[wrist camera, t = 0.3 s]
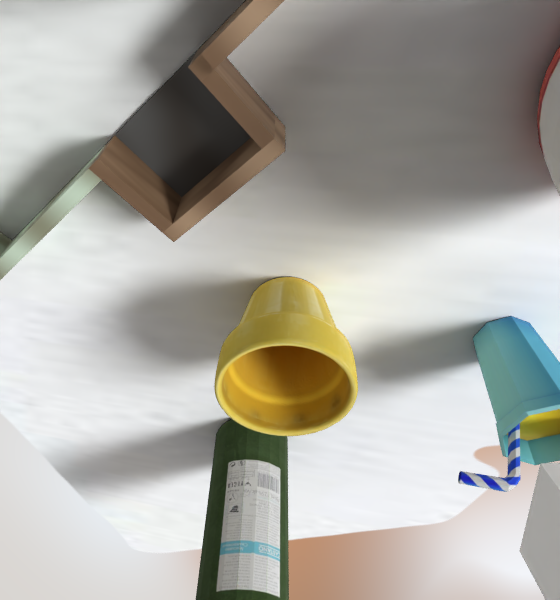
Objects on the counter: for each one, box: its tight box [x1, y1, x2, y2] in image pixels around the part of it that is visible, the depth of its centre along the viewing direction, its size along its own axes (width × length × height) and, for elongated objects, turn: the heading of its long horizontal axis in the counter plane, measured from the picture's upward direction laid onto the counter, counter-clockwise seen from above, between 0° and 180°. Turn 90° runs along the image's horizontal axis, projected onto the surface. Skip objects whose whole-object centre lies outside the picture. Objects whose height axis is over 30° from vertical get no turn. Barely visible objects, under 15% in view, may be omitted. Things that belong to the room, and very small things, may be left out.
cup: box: [458, 316, 560, 492], centre depth 39 cm, size 14×8×15 cm, turn 89°
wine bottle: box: [196, 419, 289, 600], centre depth 43 cm, size 8×8×30 cm
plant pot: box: [215, 277, 358, 436], centre depth 39 cm, size 10×10×10 cm
